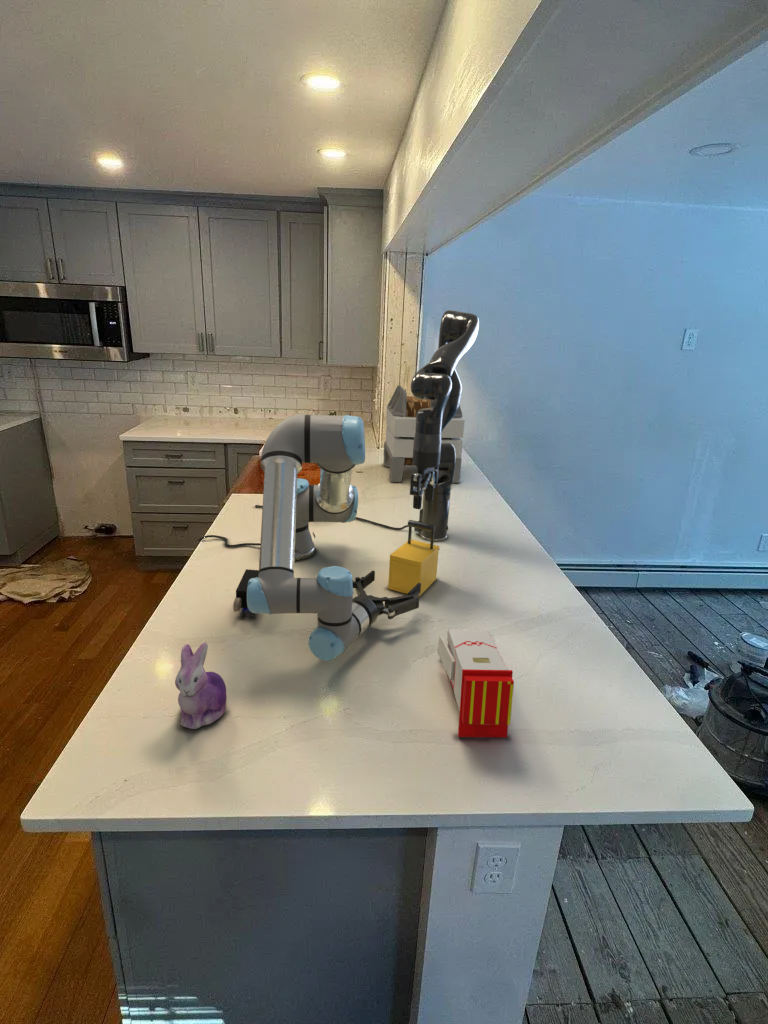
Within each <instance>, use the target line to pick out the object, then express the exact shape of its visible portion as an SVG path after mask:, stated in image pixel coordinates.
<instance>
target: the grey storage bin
mask: <svg viewBox="0 0 768 1024" xmlns="http://www.w3.org/2000/svg"><path fill="white" fill-rule="evenodd" d="M407 394H408V393H407V390H406V389H404V388H403V387H402V385H399V384H398V385H397V386H396V388H395V390H394V392H393V394H392V395H391V398H390V400H389V402H388V404H387V405H386V413H385V414H386V415H385V423H386V428H385V438H384V442H383V466H384V467H388V468H389V475H388V476H389V477H388V478H389V480H390V482H391V483H402V482H403V475H404V469H405V466H406V467H407V466H411V467H412V466H413V467H416V466H415V465H413V463H412V460H413V444H414V436H415V427H416V414H417V412H418V410H420V409H425V408H430V404H431V400H422V399H417V398H416V397H414V396H413V395H412V396H411V395H407ZM464 429H465V419H464V418H463V411H462V408H461V404H459V408H458V411H457V412H456V414H455V415H454V417H453V418H452V419H451V420H450V422H449V423H448V424H447V425H446V427H445V428H444V429H443V431H442V433H441V440H442V441H441V443H451V444H452V445H453V446H454V448H455V452H456V462H455V469H454V476H453V483H452V484H455V483H456V484H459V483H461V472H462V461H463V460H462V453H463V442H464V441H463V440H462V439H463V438H464V431H465V430H464Z"/></svg>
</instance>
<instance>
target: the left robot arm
mask: <svg viewBox="0 0 768 1024" xmlns="http://www.w3.org/2000/svg"><path fill="white" fill-rule="evenodd" d="M365 461H366V437H365V424H364V420H363V419H362V417H360V416H356V415H350V414H345V415H327V414H324V415H323V414H303V413H302V414H300V413H299V414H295V415H291V416H289V417H287V418H285V419H283V420H282V421H280V423H278V424H277V425H276V426H275V427H274V429H273V430H272V431H271V432H270V434H269V435H268V437H267V439H266V440H265V442H264V445H263V447H262V449H261V455H260V469H261V470H262V471H263V473H264V478H263V493H262V495H263V496H262V506H263V508H262V510H261V528H260V543H259V542H244V543H235V544H229V538H227V537H225V536H223V535H217V534H216V535H215V534H207V535H203V536H201V537H200V538H199V539H197V542H201V541H202V540H204V539H208V538H215V539H221V540H224V545H225V546H226V547H229V548H237V547H242V546H243V547H245V546H258V547H259V559H258V562H259V563H258V570H259V575H258V577H256V578H251V579H250V580H249V581H248V587H247V606H248V609H249V611H248V612H250V613H251V614H252V613H255V614H259V615H263V614H264V615H277V614H278V615H281V614H316V615H317V616H316V617H317V621H316V623H317V625H316V628H314V629H313V630H312V632H311V633H310V634H309V636H308V639H307V644H308V648H309V650H310V652H311V654H313V656H314V657H315V658H317V659H318V660H321V661H324V662H330V661H331V662H332V661H333V660H335V659H336V658H337V657H339V656H340V655H342V654H343V653H344V652H345V651H346V650H347V649H348V648H349V647H350V646H351V645H352V644H353V643H354V642H355V641H356V640H357V639H358V638H359V637H360V636H361V635H362V634H363V633H364V632H365V631H366V630H367V629H368V628H369V627H370V626H372V625H373V624H374V623H375V622H376V620H377V618H378V617H379V616H381V615H383V614H384V615H386V616H387V619H388V620H392V619H394V618H395V617H397V616H398V615H399V616H400V615H403V614H405V613H408V612H411V611H414V610H417V609H419V608H420V596H419V594H420V592H421V583H418V584H417V585H416V586H415V587H413V588H412V589H411V590H410V591H409V592H408V594H405V595H400V596H399V595H398V596H393V597H388V596H383V597H378V596H375V595H372V594H367V592H366V591H365V589H366V588H367V587H368V586H369V585H371V584H372V583H373V582H374V581H375V580H376V579H375V577H376V571H375V570H371V571H370V572H369V573H367V574H366V575H364V576H361V577H359V576H356V577H355V579H354V580H353V575H352V572H351V571H350V570H349V569H348V568H346V567H343V566H339V565H330V566H325V567H322V568H321V569H320V570H319V571H318V572H317V576H316V577H295V562H296V561H301V560H304V559H308V558H310V557H312V556H313V555H314V554H315V543H314V540H313V538H314V539H316V535H315V533H314V531H312V534H311V531H310V527H309V526H310V524H309V523H342V524H345V523H351V522H354V520H356V519H355V517H357V514H358V507H359V491H358V487H357V486H356V485H352V484H351V480H352V470H353V469H354V468H355V467H356V465H357V466H358V465H362V464H364V463H365ZM304 463H305V464H316V466H318V467H319V483H318V484H310V482H309V481H308V480H307V479H305V478H300V477H299V478H298V474H299V473H300V472H301V471H302V469H303V464H304ZM312 536H313V538H312ZM204 537H205V538H204ZM354 590H355V592H356V595H357V596H354Z"/></svg>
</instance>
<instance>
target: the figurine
mask: <svg viewBox="0 0 768 1024" xmlns="http://www.w3.org/2000/svg"><path fill="white" fill-rule="evenodd" d="M208 648H209V645H208V643H207V642H203V643H201V644H200V646H199V647H198V648H197V650H196V651H195V652H193V649H192V647H191V646H190V644H188V643H186V644H184V645H183V646H182V648H181V651H180V668H179V670H178V672H177V675H176V676H175V679H174V685H175V687H176V689H177V690H178V691H179V694H178V696H177V702H178V706H179V708H180V711H181V718H180V726H182V727H183V728H188V729H191V730H197V729H199V728H201V727H203V726H208V725H211V724H213V723H215V722H216V721H217V720H218V719H220V718H221V717H222V716H223V715H224V714H225V712H226V707H227V687H226V682H225V681H224V678H223V677H222V676H221V675H220V674H219V673H217V672H215V671H206V670H205V667H204V664H205V661H206V657H207V653H208Z"/></svg>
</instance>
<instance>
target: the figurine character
mask: <svg viewBox="0 0 768 1024" xmlns="http://www.w3.org/2000/svg"><path fill="white" fill-rule="evenodd" d="M258 575H259V569H247V568H245V570H244V572H243V575H242V577H241V579H240V581H239V583H238V585H237V587H236V589H235V598H234V600H233V607H232V609H233V612H234V613H235V612H236V613H239V612H240V611H241V612H240V616H241V617H244V615H245V612H246V611H248V612H250V611H249V609H248V606H247V587H248V581H249V580H250V579H251V578H256V577H258ZM255 615H256V613H252V612H251V617H255Z"/></svg>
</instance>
